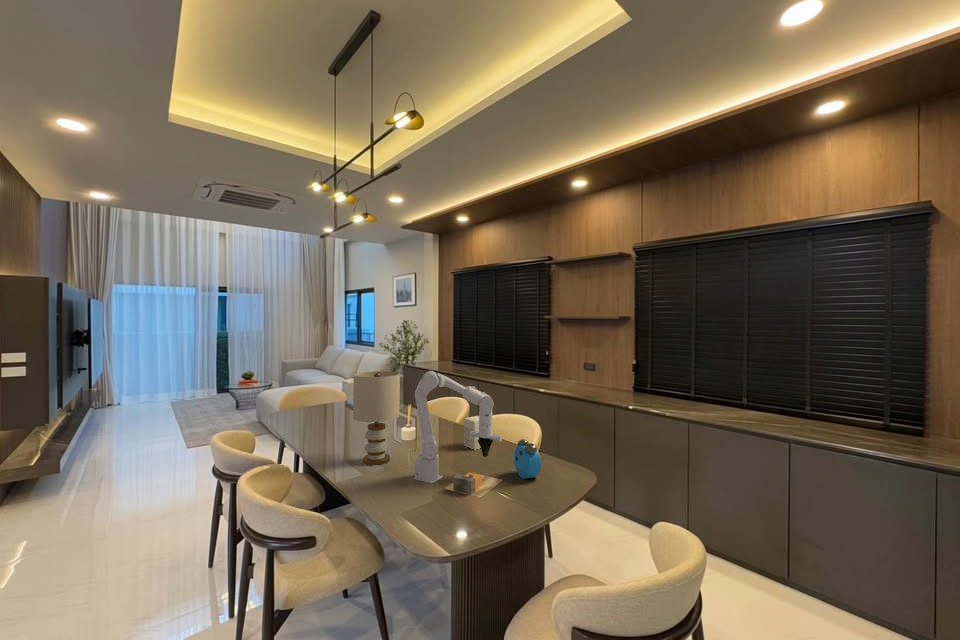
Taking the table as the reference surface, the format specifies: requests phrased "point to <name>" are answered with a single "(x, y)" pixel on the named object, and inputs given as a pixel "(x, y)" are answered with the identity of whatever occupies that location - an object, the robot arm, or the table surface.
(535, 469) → the alarm clock
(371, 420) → the lamp
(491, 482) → the dock
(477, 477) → the lock
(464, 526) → the table surface
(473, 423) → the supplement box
